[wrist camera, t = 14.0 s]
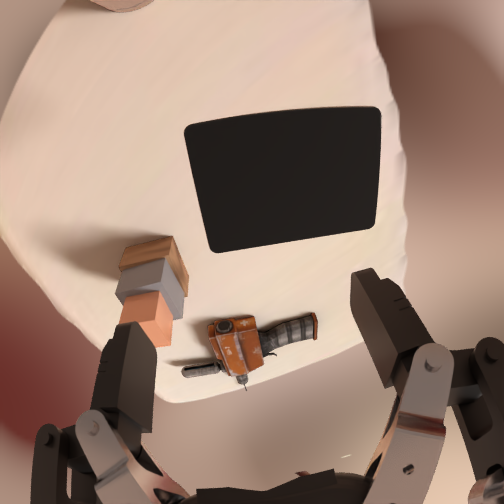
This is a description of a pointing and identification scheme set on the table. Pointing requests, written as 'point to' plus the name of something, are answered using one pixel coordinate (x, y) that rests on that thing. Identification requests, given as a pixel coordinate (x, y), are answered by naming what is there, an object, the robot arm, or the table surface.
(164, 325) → the terracotta block
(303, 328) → the tool
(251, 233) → the tablet
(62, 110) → the table surface
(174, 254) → the walnut base block
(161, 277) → the gray middle block
